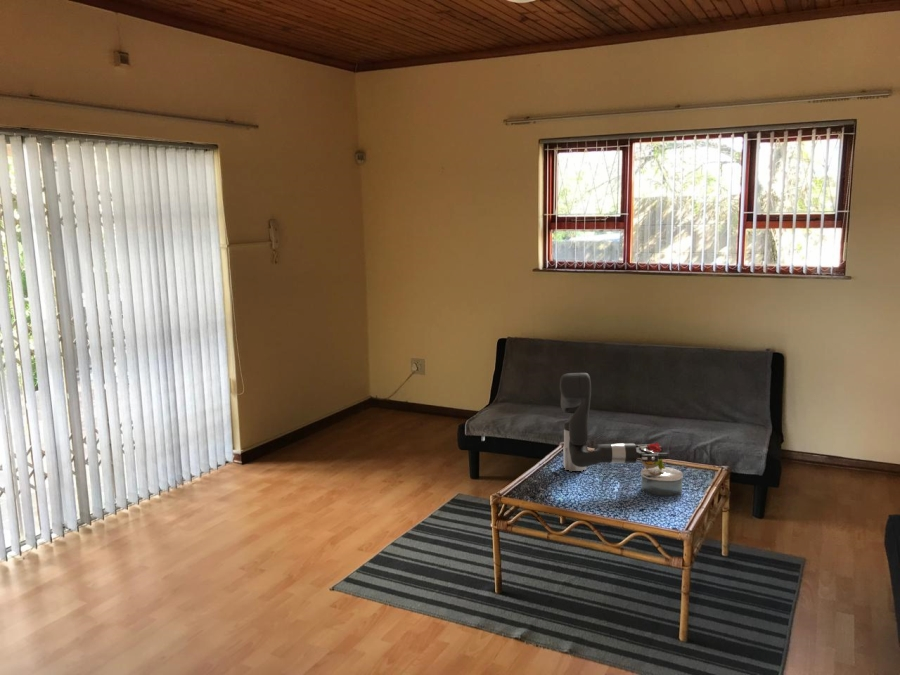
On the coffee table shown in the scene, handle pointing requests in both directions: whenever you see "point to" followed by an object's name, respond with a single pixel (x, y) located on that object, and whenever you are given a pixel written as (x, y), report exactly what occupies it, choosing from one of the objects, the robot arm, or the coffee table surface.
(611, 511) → the coffee table surface
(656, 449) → the bird rattle
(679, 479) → the biscuit tin
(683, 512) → the coffee table surface
